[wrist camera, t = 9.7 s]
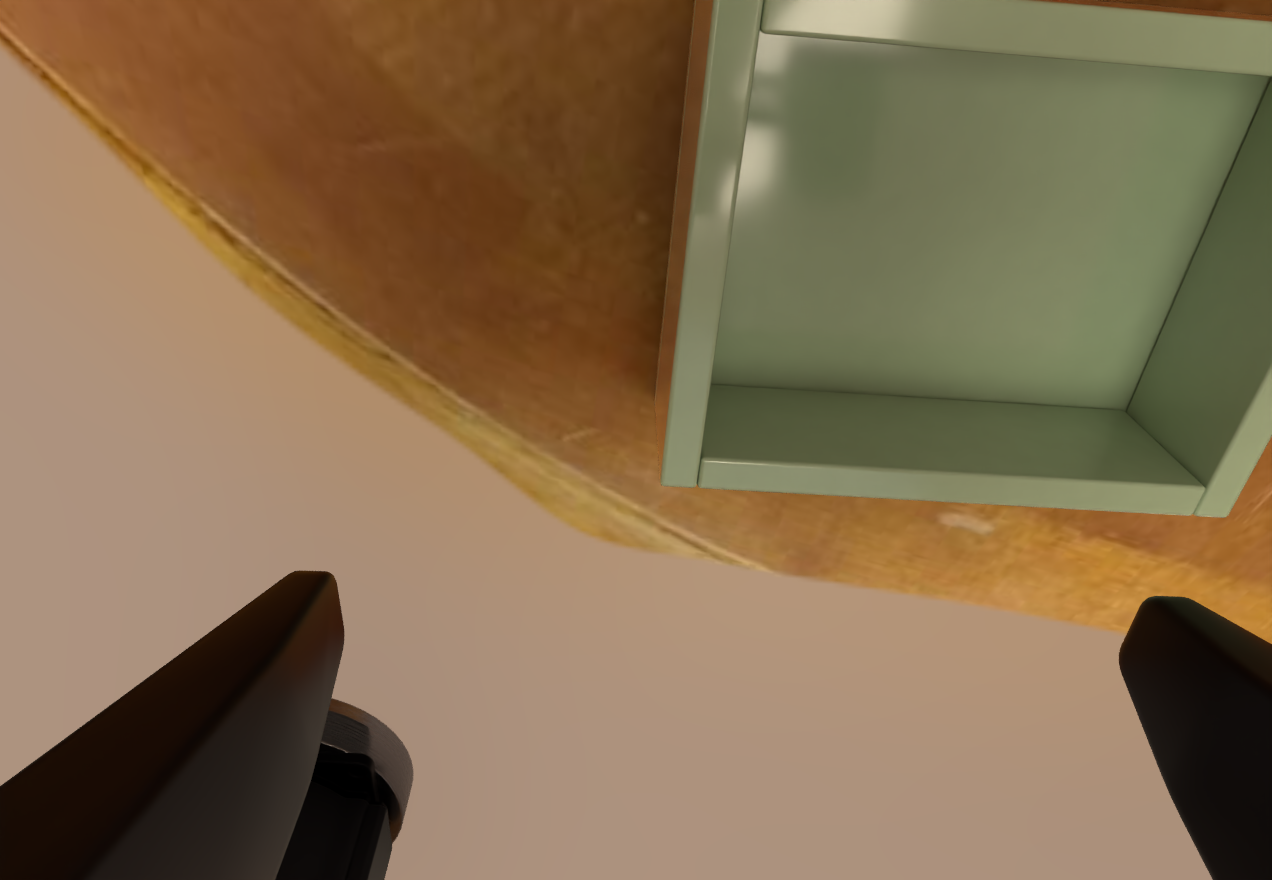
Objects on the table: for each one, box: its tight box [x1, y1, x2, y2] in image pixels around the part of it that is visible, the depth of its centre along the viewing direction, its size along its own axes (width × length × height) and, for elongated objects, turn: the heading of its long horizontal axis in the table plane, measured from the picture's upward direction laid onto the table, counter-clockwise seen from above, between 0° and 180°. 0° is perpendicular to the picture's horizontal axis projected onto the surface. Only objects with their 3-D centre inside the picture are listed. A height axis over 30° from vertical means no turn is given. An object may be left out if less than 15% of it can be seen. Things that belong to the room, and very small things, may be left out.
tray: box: [654, 0, 1272, 518], centre depth 17 cm, size 13×10×4 cm
